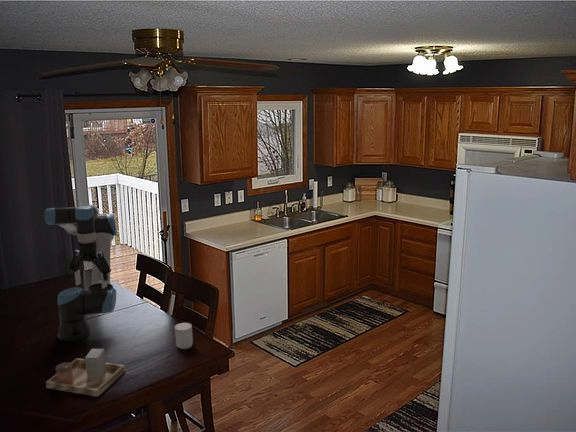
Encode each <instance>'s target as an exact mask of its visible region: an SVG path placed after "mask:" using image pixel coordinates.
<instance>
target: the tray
mask: <svg viewBox="0 0 576 432" xmlns="http://www.w3.org/2000/svg"><path fill="white" fill-rule="evenodd" d="M70 363H72V366H73V367H72V370H73V379H74V383H73V384H72V385H70V384H64V383H58V379H57V373H55V374H54V375H53V376H52V377H50V378H49V379H48V380H47V381H45V386H46V389H52V390H56V391H62V392H67V393H73V394H80V395H86V396H89V397H90V396H91V397H95V398H96V397H97V398H98V397H99V396H101V394H103V393H104V392H105V391H106V390H107V389H108V388H109V387H110V386H111V385H112V384H114V382H116V381H117V380H118V379H119V378H120V377H121V376H122V375H123V374H124V373H125V372H126V365H125V364H119V363H118V364H117V363H113V362H107V361H106V371H105V373H104V375H103V376H102V378H101V379H100V380H87V372H86V363H85V358H79V357H76V358H75V359H74V360H72V361H71V362H70Z"/></svg>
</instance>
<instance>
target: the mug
mask: <svg viewBox="0 0 576 432" xmlns="http://www.w3.org/2000/svg"><path fill="white" fill-rule="evenodd" d="M174 336H175V346H176V347H177V348H179V349H182V350H187V349H189V348H192V346H193V341H194V340H193V339H194V338H193V326H192V323H190V322H181V323H177V324H176V325H175V326H174Z"/></svg>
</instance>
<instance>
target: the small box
mask: <svg viewBox="0 0 576 432" xmlns="http://www.w3.org/2000/svg"><path fill="white" fill-rule="evenodd" d="M84 359H85V363H86V372H87V380H100V379H101V378H102V376H103V375H104V373H105V371H106V362H107V361H106V350H105V348H91V349H90V350H89V352H88V353H87V355H86V356H85V357H84Z"/></svg>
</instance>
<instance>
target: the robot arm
mask: <svg viewBox="0 0 576 432" xmlns="http://www.w3.org/2000/svg"><path fill="white" fill-rule="evenodd" d="M44 222H45V224H46V225H48V226H49V225H50V226H54V225H56V226H59V227H61V228H63V229H64V230H65V232H66V233H68V234H70V235H73V236H77V245H78V249H75V250H73V254H72V258H71V261H70V263H69V266H68V270H70V271H72V275H73V278H74V281H75V285H76V286H74V287H69V288H66V289H64V290H62V291H60V292H59V293H58V295H57V308H58V315H59V326H58V329H57V330H58V331H57V338H58V340H60V341H61V342H76V341H79V340H83V339H85V338H87V337H89V335H90V334H91V326H90V325H89V322H88V321H87V319H86V315H97V314H99V315H100V314H108V313H111V312H114V310H115V308H116V304H117V289H116V288H114V285H113V284H112V283H111V272H112V269H111V249H112V248H111V246H112V245H111V244H112V243H111V242H112V241H114V237H115V236H116V235H118V231H117V226H116V225H117V224H116V218H115V216H114V214H113V213H101V214H100V213H99V212H98V208H97V207H96V206H94V205H93V204H86V205H81V206H73V207H72V206H71V207H49V208H46V209H45V211H44ZM79 256H80V258H79ZM78 259H79V260H78ZM84 262H89V263H91V264H92V267H91V268H92V271H91V273H92V274H91V275H92V276H91V284H89V285H88V290H83V288H82V287H80V286H79V285H81V284H82V279H81V270H80V267H81V266H82V265H83V263H84Z"/></svg>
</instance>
